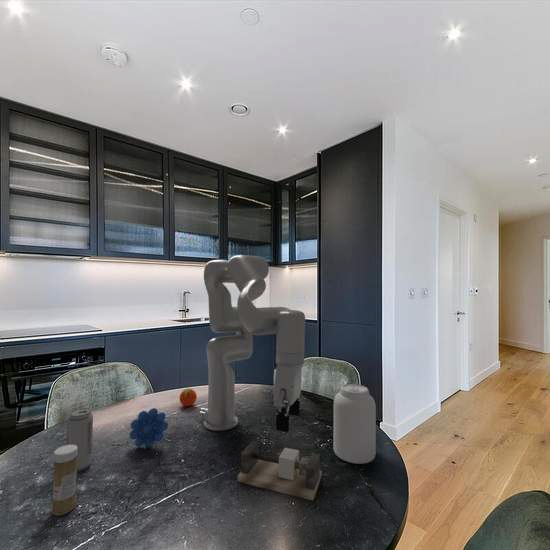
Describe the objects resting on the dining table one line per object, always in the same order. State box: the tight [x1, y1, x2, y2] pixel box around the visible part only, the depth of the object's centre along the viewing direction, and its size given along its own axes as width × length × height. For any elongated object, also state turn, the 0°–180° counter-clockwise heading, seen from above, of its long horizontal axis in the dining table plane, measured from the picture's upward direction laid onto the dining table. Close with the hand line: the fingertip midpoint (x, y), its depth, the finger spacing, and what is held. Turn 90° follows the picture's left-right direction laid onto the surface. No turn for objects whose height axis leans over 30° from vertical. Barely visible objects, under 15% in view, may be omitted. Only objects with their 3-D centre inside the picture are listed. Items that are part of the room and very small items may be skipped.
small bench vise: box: [237, 440, 323, 501], centre depth 82 cm, size 20×10×6 cm, turn 70°
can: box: [332, 383, 377, 465], centre depth 95 cm, size 12×12×20 cm
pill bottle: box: [51, 444, 78, 517], centre depth 71 cm, size 5×5×14 cm
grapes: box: [129, 407, 169, 448], centre depth 98 cm, size 12×7×12 cm, turn 93°
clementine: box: [179, 388, 197, 407], centre depth 130 cm, size 8×7×7 cm
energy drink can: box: [66, 408, 94, 473], centre depth 87 cm, size 6×6×15 cm
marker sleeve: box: [278, 447, 300, 481], centre depth 82 cm, size 4×5×5 cm
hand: (288, 422), depth 82 cm, fingers open, 9 cm apart
